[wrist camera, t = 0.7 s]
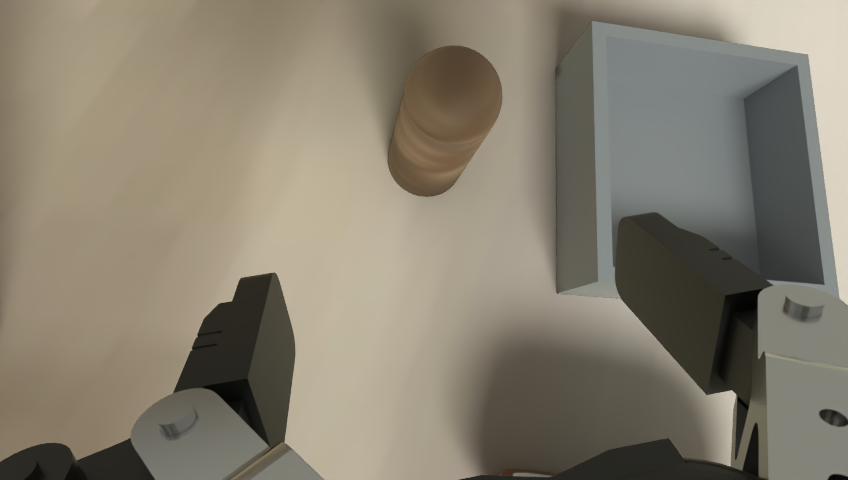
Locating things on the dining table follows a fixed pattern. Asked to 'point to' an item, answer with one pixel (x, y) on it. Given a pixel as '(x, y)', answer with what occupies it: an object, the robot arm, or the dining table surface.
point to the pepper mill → (443, 118)
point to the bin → (688, 154)
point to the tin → (524, 473)
